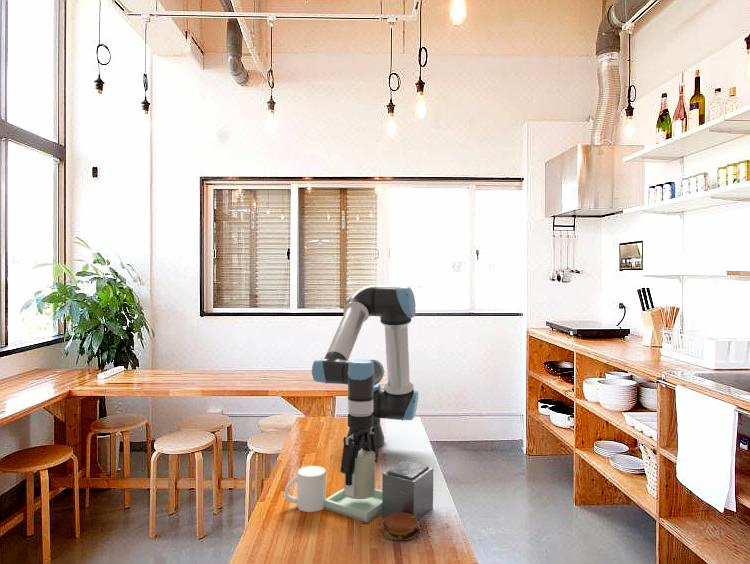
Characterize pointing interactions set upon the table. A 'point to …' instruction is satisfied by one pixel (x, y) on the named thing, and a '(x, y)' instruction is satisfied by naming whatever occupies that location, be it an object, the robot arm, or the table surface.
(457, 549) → the table surface
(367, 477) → the can
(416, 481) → the unit
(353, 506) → the tray
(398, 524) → the burger
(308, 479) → the mug
